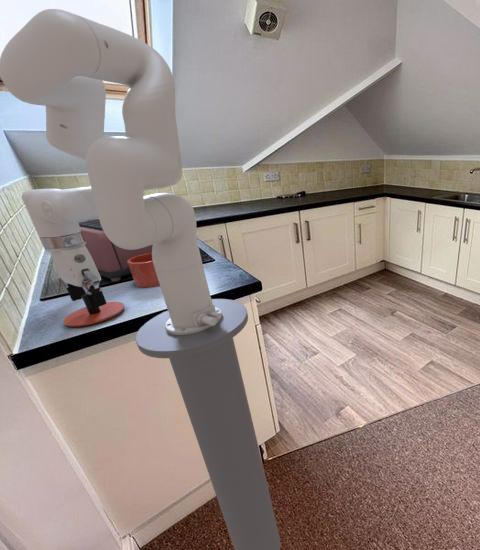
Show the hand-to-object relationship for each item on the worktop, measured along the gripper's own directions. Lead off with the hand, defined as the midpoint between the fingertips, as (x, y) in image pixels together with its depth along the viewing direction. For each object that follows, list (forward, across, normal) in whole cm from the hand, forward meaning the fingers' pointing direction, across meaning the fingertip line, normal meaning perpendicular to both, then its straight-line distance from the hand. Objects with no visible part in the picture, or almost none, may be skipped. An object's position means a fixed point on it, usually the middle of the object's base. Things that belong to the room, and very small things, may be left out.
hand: (89, 302), depth 80 cm
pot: (+4, +9, -22) cm, 24 cm away
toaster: (+5, +36, -33) cm, 49 cm away
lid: (+4, 0, 0) cm, 4 cm away
